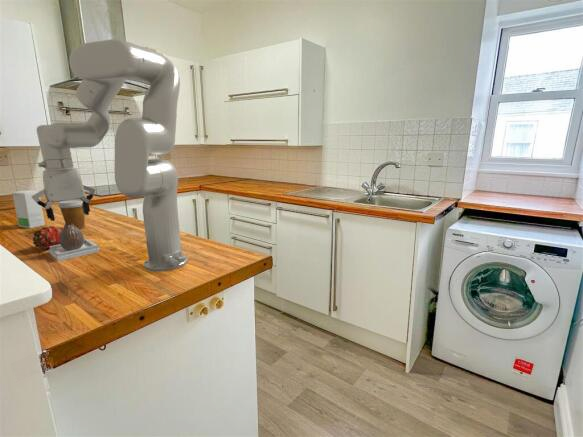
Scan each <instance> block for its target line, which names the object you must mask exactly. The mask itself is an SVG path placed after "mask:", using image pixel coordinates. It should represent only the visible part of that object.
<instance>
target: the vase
mask: <svg viewBox="0 0 583 437" xmlns="http://www.w3.org/2000/svg"><path fill="white" fill-rule="evenodd" d="M61 230H62V231H61V232H60V235H59V242H60V245H61V246H62V248H63V249H65V250H67V251H71V250H76V249H80V248H81V247H82V245H83V243H84V239H85V237H84V234H83V231H82V230H81V229H78V228H77V227H76V226H75V225H74V224H73V223H68V224H66V223H65V224H64V226H63V228H62V229H61Z"/></svg>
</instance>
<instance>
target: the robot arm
mask: <svg viewBox="0 0 583 437" xmlns="http://www.w3.org/2000/svg"><path fill="white" fill-rule="evenodd" d="M68 60H69V61H68V62H69V66H70V69H71V72H72V73H73V74H74V75H75V76H76V77H77V78H79V79H80V80H81V82H80V84H79V85H78V87H77V88H76V91H75V96H76V98H77V100H78V102H80V104H81V105H82V106H84V107H85V108H86V109H87V110H89V111H91V112H92V113H91V115H90V116H89V118H88V120H87V121H86V122H84V123H83V122H65V121H63V122H62V121H61V122H58V121H57V122H54V123H51V124H41V125H38V126H37V127H36V134H37V139H38V143H39V147H40V153H41V157H42V161H41V162H38V163H37V166H38V167H39V168H44V170H43V171H42V182H43V189H41V190H39V191H38V193H36V194H35V195H33V196H32V199H33V200H34V201H35V202H36V203H37V204H39V205H40V206H42V208H44V209H45V212H46V216H47V219H48V220H50V221H51V222H54V221H56V218H55V214H54V210H53V208H52V206H53V204H54V203H59V202H61V201H68V200H75V199H81V200H82V201H83V203H82V206H83V211H84V215H86V216H89V215H90V212H91V209H90V204H89V203H90V202H91V201H92V199H93V198H94V195H95V192H96V189H95V188H93V187H89V186H86V185H83V181H82V177H81V175H80V172H79V169H78V168H77V167H74V163H73V158H72V157H73V156H72V153H71V149H77V148H94V147H95V146H97V145H99V144H100V143H101V142H102V141H103V139H104V137H105V136H106V135H107V134H108V132H109V129H110V125H111V123H110V122H111V119H110V118H111V116H110V112H109V109H110V108H109V107H110V106H111V105H112V103H113V101H114V100H115V98H116V96H117V95H118V94H119V91H121V89H122V88H123V86H124V85H125V83H126V81H127V80H128V81H133V82H138V83H144V84H147V85H149V87H148V89H147V91H145V94H144V96H143V101H142V114H141V117H140V118H139V117H130V118H126V119H124V120H123V121H122V122H121V123H120V124H119V125H118V126H117V129H116V131H115V135H114V180H115V185H116V187H117V190H118V192H120V194H122V195H123V196H125V197H126V198H130V199H137V198H143V202H142V216H143V226H144V231H145V233H144V234H145V239H146V240H145V241H146V248H147V254H148V255H147V256H148V257H147V259H146V260H145V261H144V262H143V269H145V270H147V271H149V272H155V273H156V272H169V271H173V270H177V269H180V268H181V267H184V266H185V265H187V263H188V261H189V259H188V256H187V255H185V254H183V250H182V242H181V229H180V220H179V211H178V188H179V187H178V185H179V175H178V171H177V169H176V167H175V166H174V164H173V163H172V162H170V161H169V160H167V159H164V158H163V159H162V158H150V159H149V157H153V156H154V157H155V156H162V155H163V156H164V155H166V154H170V153H171V152H173V149H174V148H175V142H176V129H177V114H178V113H177V112H178V111H177V110H178V101H179V95H180V90H181V89H180V86H181V82H180V81H181V79H180V75H179V71H178V69H177V67H176V66H175V64H174V63H173V62H172V61H171V60H170V59H169V58H168V57H167V56H165V55H164V54H162V53H160V52H158V51H155V50H153V49H150V48H147V47H144V46H140V45H138V44H136V43H132V42H129V41H126V40H123V39H117V38H116V39H115V38H114V39H106V40H105V39H104V40H98V41H92V42H85V43H82V44H78V45H77V46H75V47H74V49H73V50H71V53H70V55H69V59H68ZM86 191H88V194H87V196H86V193H85V192H86ZM44 195H45V196H44ZM42 196H44V197H45V199H46V201H45V202H44V201H42V200H40V199H39V197H40V198H41V197H42Z"/></svg>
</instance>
